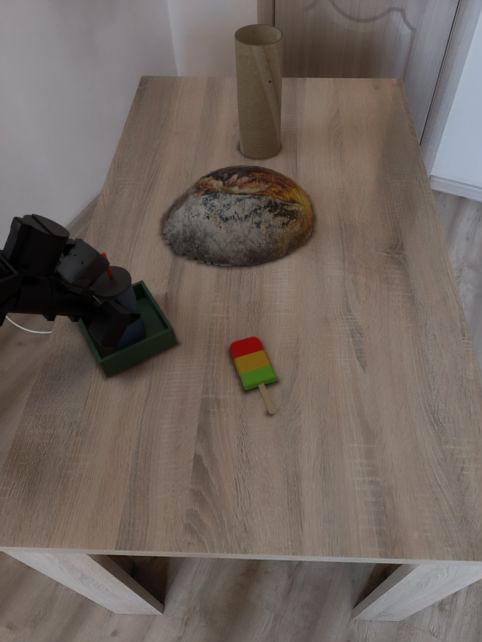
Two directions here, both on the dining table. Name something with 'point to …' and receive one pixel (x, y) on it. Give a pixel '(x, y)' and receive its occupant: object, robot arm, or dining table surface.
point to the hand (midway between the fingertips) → (124, 302)
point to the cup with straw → (120, 300)
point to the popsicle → (253, 366)
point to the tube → (259, 89)
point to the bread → (239, 217)
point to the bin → (154, 342)
